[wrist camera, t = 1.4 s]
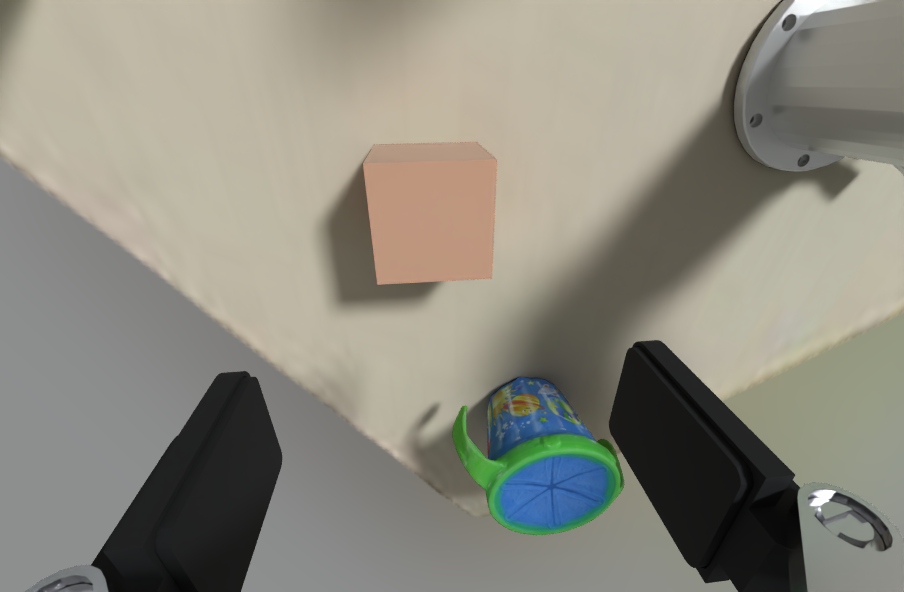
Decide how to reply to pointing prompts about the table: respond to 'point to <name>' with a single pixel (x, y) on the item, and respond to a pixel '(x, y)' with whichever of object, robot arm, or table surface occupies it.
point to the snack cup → (539, 461)
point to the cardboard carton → (431, 211)
